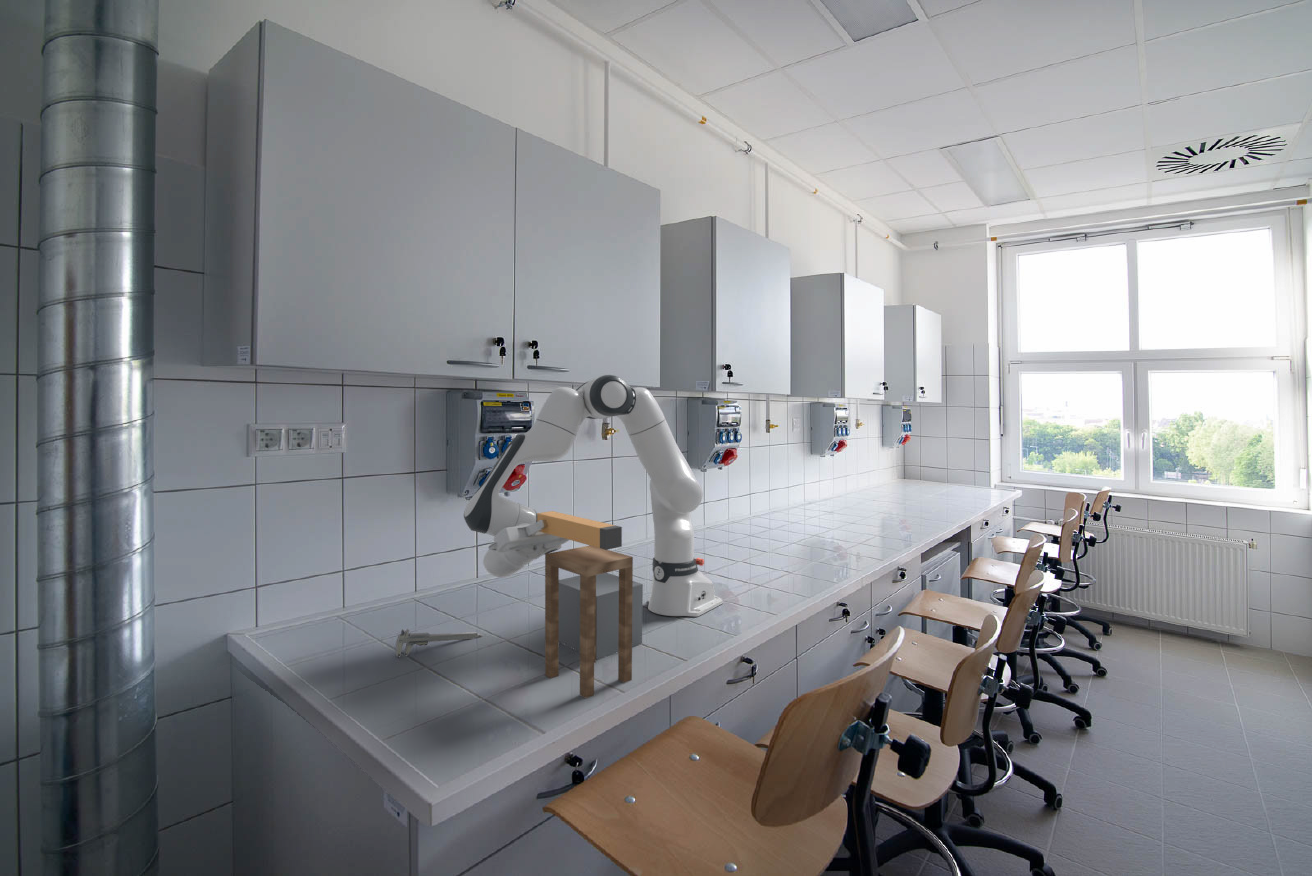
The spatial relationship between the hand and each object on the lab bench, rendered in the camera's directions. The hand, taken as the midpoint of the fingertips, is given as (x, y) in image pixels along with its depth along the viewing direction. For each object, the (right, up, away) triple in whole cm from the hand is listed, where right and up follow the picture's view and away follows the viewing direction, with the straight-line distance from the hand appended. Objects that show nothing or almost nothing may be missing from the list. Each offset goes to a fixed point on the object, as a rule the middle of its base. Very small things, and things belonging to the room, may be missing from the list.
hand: (554, 521), depth 140 cm
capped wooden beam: (+6, -3, -6) cm, 9 cm away
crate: (+8, -31, +13) cm, 34 cm away
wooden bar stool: (+8, -32, -7) cm, 34 cm away
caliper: (-28, -31, +9) cm, 43 cm away
